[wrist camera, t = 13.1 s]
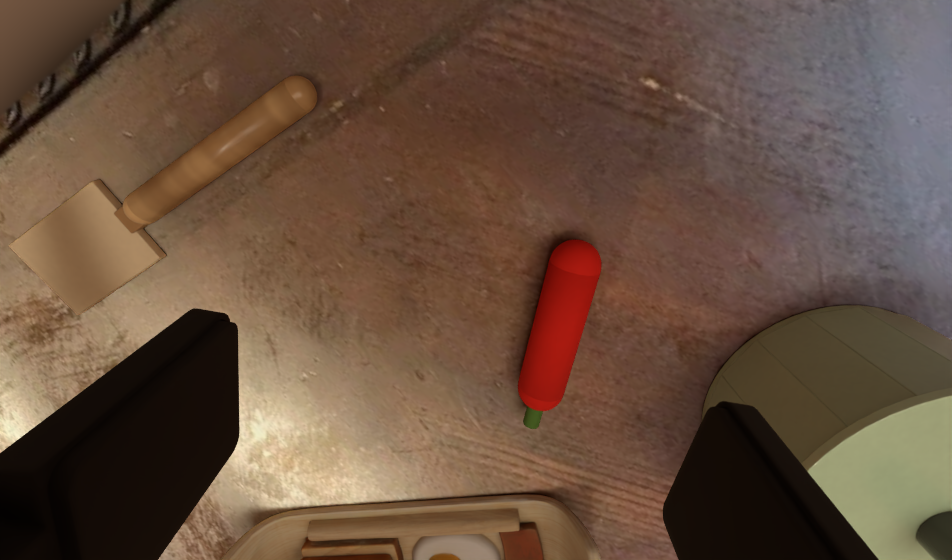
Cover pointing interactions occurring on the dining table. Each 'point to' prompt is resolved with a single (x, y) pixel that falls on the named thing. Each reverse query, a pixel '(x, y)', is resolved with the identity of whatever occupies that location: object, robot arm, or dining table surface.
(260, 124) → the spatula
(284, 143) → the dining table surface
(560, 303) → the chili pepper
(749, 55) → the dining table surface
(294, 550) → the toy food set
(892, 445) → the pot lid
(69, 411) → the robot arm
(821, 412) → the pot
